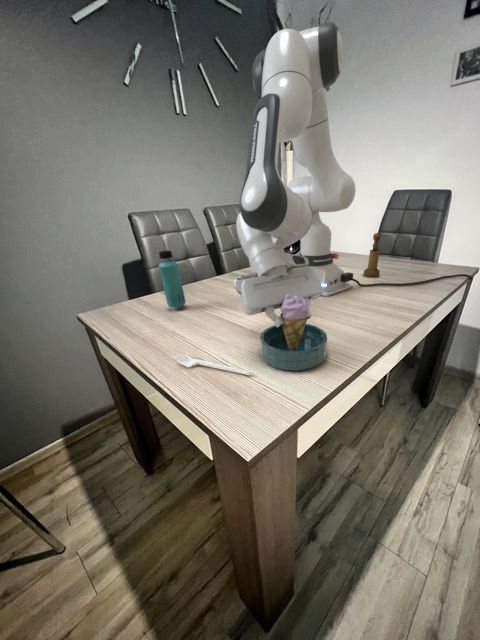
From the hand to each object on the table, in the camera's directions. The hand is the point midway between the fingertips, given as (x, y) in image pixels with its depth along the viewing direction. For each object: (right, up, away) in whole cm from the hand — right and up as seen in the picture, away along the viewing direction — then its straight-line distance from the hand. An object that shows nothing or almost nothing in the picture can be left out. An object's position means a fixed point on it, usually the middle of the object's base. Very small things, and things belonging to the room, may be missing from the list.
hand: (294, 322), depth 62 cm
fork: (-19, -11, +2) cm, 22 cm away
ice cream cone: (0, -7, +5) cm, 9 cm away
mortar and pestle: (+42, +27, +62) cm, 79 cm away
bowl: (0, -7, +5) cm, 9 cm away
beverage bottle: (-38, +9, +38) cm, 54 cm away
